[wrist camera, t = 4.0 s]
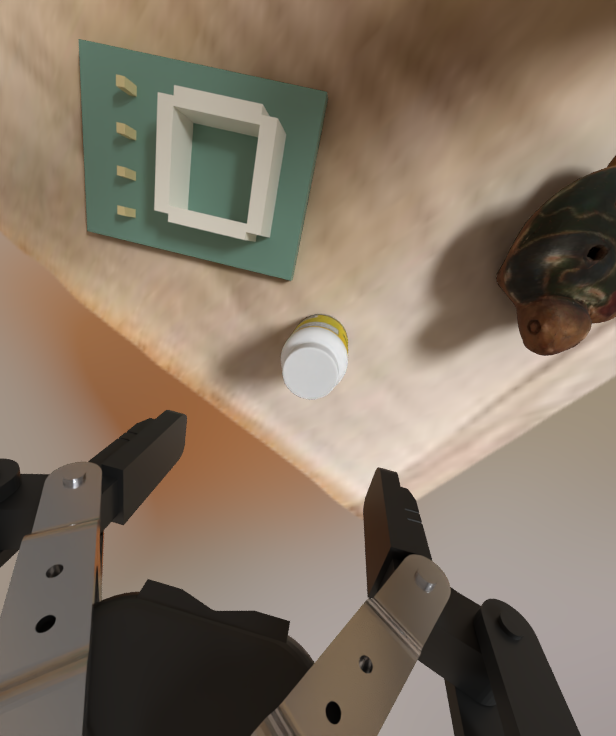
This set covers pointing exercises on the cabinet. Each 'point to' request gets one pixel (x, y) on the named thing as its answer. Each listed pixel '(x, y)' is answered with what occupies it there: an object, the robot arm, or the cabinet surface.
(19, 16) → the cabinet surface
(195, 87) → the header board
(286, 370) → the supplement bottle
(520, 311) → the decorative turtle
